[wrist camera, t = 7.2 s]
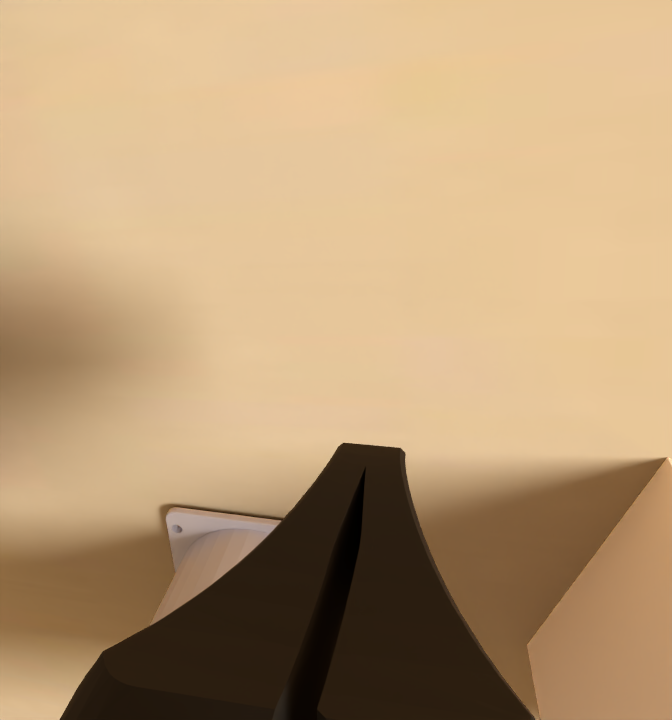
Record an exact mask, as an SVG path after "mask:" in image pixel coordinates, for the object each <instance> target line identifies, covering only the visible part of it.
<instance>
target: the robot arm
mask: <svg viewBox="0 0 672 720" xmlns="http://www.w3.org/2000/svg"><path fill="white" fill-rule="evenodd" d="M166 524H167V530H168V535H169V541H170V547H171V552H172V558H173V564H174V569H175V575H174V577H173V579H172V581H171V583H170V585H169V587H168V589H167V591H166V593H165V595H164V597H163V599H162V601H161V603H160V605H159V607H158V609H157V611H156V613H155V615H154V617H153V619H152V621H151V623H150V625H149V627H147V628H145V629H144V630H142V631H140V632H138V633H136V634H134V635H133V636H131V637H129V638H127V639H125V640H124V641H122V642H120V643H118V644H116V645H114V646H113V647H111V648H109V649H107V650H105V651H103V652H102V654H101V655H100V656H99V658H98V659H97V661H96V662H95V664H94V665H93V667H92V668H91V669H90V671H89V672H88V673H87V675H86V676H85V678H84V679H83V681H82V682H81V684H80V685H79V687H78V688H77V690H76V692H75V693H74V695H73V697H72V699H71V701H70V702H69V704H68V706H67V708H66V709H65V711H64V713H63V715H62V717H61V718H60V720H535V718H534V716H533V715H532V714H531V713H530V711H529V710H528V709H527V708H526V706H525V705H524V704H523V703H522V702H521V700H520V699H519V698H518V697H517V695H516V694H515V693H514V691H513V690H512V689H511V687H510V686H509V685H508V683H507V682H506V681H505V679H504V678H503V677H502V675H501V674H500V673H499V671H498V670H497V668H496V667H495V666H494V664H493V663H492V661H491V660H490V658H489V657H488V656H487V654H486V653H485V651H484V650H483V648H482V647H481V645H480V643H479V642H478V640H477V639H476V637H475V635H474V634H473V632H472V631H471V629H470V627H469V626H468V624H467V623H466V621H465V619H464V618H463V616H462V615H461V613H460V611H459V609H458V608H457V606H456V604H455V602H454V600H453V598H452V597H451V595H450V593H449V591H448V589H447V587H446V585H445V583H444V581H443V579H442V577H441V575H440V573H439V571H438V569H437V566H436V564H435V562H434V560H433V557H432V555H431V553H430V550H429V548H428V545H427V543H426V540H425V538H424V535H423V532H422V530H421V527H420V524H419V521H418V518H417V514H416V511H415V508H414V505H413V502H412V498H411V494H410V490H409V485H408V481H407V475H406V467H405V452H404V451H403V450H402V449H401V448H395V447H384V446H373V445H362V444H352V443H343V444H341V445H340V446H339V447H338V448H337V450H336V452H335V453H334V455H333V456H332V458H331V459H330V461H329V462H328V464H327V465H326V467H325V468H324V470H323V471H322V472H321V474H320V475H319V476H318V478H317V479H316V481H315V482H314V483H313V484H312V486H311V487H310V488H309V489H308V491H307V492H306V493H305V494H304V496H303V497H302V498H301V499H300V501H299V502H298V503H297V504H296V505H295V507H294V508H293V509H292V510H291V511H290V512H289V513H288V514H287V515H286V517H285V518H284V519H283V520H282V521H281V520H273V519H265V518H257V517H249V516H242V515H234V514H226V513H218V512H210V511H202V510H195V509H187V508H179V507H173V508H171V509H170V510H169V511H168V513H167V515H166ZM177 525H179V526H180V527H179V526H177Z"/></svg>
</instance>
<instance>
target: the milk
mask: <svg viewBox="0 0 672 720" xmlns="http://www.w3.org/2000/svg"><path fill="white" fill-rule="evenodd" d="M527 649H528V655H529V660H530V666H531V671H532V677H533V682H534V688H535V693H536V699H537V705H538V710H539V716H540V720H672V459H671V458H668V457H667V458H666V460H665V461H664V462H663V464H662V465H661V466H660V468H659V469H658V470H657V472H656V473H655V474H654V476H653V477H652V478H651V480H650V481H649V482H648V484H647V485H646V486H645V488H644V489H643V490H642V492H641V493H640V494H639V496H638V497H637V498H636V500H635V501H634V502H633V504H632V505H631V506H630V508H629V509H628V510H627V512H626V513H625V514H624V516H623V517H622V518H621V520H620V521H619V522H618V524H617V525H616V527H615V528H614V529H613V531H612V532H611V533H610V535H609V536H608V537H607V539H606V540H605V541H604V543H603V544H602V545H601V547H600V548H599V549H598V551H597V552H596V553H595V555H594V556H593V557H592V559H591V560H590V561H589V563H588V564H587V565H586V567H585V568H584V569H583V571H582V572H581V573H580V575H579V576H578V577H577V579H576V580H575V581H574V583H573V584H572V585H571V587H570V588H569V589H568V591H567V592H566V593H565V595H564V596H563V597H562V599H561V600H560V601H559V603H558V604H557V605H556V607H555V608H554V609H553V611H552V612H551V613H550V615H549V616H548V617H547V619H546V620H545V621H544V623H543V624H542V625H541V627H540V628H539V629H538V631H537V632H536V633H535V635H534V636H533V637H532V639H531V640H530V641H529V643H528V644H527Z"/></svg>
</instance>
